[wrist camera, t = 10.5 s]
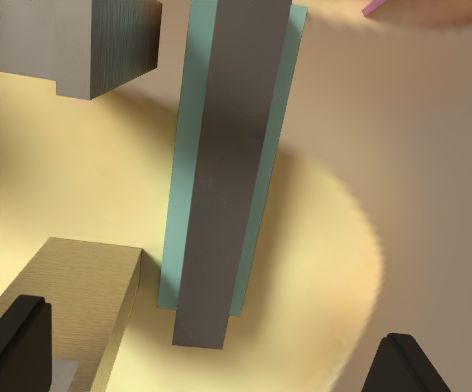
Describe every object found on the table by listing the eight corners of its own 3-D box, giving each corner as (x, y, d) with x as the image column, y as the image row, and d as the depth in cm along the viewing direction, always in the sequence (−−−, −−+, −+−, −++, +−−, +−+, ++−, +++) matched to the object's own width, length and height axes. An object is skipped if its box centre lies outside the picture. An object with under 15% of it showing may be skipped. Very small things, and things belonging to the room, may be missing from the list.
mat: (239, 310, 26) (240, 316, 25) (158, 301, 25) (156, 307, 25) (305, 8, 19) (307, 8, 18) (193, -14, 18) (192, -16, 17)
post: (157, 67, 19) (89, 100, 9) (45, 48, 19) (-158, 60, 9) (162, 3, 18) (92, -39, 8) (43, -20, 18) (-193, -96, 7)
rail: (221, 315, 25) (222, 349, 22) (177, 310, 25) (172, 344, 22) (281, 4, 18) (292, -2, 15) (219, -8, 18) (219, -16, 15)
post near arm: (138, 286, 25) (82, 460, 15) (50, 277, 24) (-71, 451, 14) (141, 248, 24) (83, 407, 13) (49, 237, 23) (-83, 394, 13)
